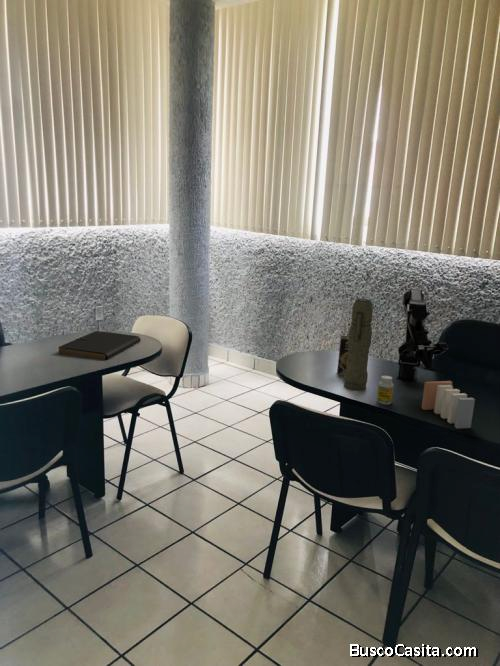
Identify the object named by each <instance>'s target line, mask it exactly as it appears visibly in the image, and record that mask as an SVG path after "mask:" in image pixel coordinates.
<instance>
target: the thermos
mask: <svg viewBox="0 0 500 666" xmlns="http://www.w3.org/2000/svg"><path fill="white" fill-rule="evenodd" d="M354 300H355V301H354V302H353V305H352V310H351V311H352V312H351V322H350V326H349V329H348V335H347V336H348V345H349V348H348V358H347V369H346V371H345V375H344V376H343V380H344V382H343V383H344V384H343V387H344V388H346V389H347V390H350V391H357V392H361V391H365V390H366V388H367V383H368V376H369V374H368V363H369V352H370V347H371V345H372V336H373V330H372V320H373V311H374V307H373V306H374V305H373V303H372V301H371V300H370V299H368V298H357V299H354Z"/></svg>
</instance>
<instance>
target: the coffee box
mask: <svg viewBox="0 0 500 666" xmlns="http://www.w3.org/2000/svg"><path fill="white" fill-rule="evenodd" d="M348 348H349V345H348V335H340V341H339V351H338V360H337V370H336V376H337V375H339V376H338V377H344V375H345V371H346V369H347V358H348Z"/></svg>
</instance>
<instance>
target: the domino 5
mask: <svg viewBox="0 0 500 666" xmlns="http://www.w3.org/2000/svg"><path fill="white" fill-rule="evenodd" d="M475 401H476V399H475V398H473V397H467V398H458V405H457V412H456V419H455V423H454V428H455V429H471V427H472V420H473V414H474V408H475V403H476V402H475Z"/></svg>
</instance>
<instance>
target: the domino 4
mask: <svg viewBox="0 0 500 666" xmlns="http://www.w3.org/2000/svg"><path fill="white" fill-rule="evenodd" d="M458 398H468V394H466V392H464V393H463V392H462V393H457V394H451V399H450V406H449V413H448V418H447V423H449V424H455V419H456V412H457V405H458Z"/></svg>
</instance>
